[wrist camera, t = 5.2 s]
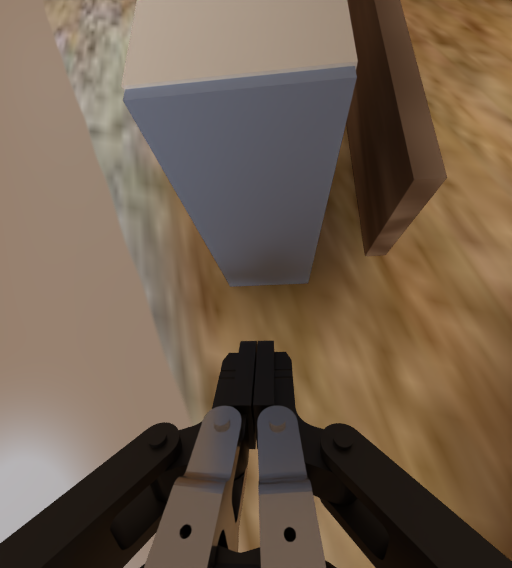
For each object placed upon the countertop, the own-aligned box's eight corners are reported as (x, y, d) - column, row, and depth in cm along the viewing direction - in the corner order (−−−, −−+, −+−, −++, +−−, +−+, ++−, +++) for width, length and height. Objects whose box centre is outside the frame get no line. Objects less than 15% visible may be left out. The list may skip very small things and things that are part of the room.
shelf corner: (341, -9, 32) (371, -217, 21) (385, 255, 22) (488, 125, 11) (234, 5, 34) (209, -188, 22) (230, 262, 23) (179, 150, 12)
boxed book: (297, 138, 27) (315, -183, 12) (308, 283, 22) (360, 72, 7) (232, 144, 27) (165, -156, 12) (229, 286, 23) (119, 97, 8)
